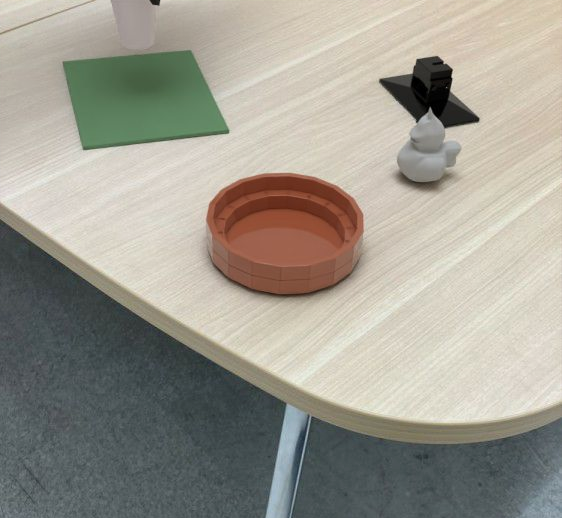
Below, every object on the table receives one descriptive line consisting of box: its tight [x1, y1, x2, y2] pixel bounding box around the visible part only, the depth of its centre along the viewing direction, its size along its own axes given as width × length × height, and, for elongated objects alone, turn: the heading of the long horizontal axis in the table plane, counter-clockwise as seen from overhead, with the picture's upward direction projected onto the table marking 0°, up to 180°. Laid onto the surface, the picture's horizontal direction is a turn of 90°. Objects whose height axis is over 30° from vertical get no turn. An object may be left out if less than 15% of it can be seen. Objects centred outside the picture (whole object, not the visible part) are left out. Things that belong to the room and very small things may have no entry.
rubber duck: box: [396, 107, 462, 183], centre depth 80 cm, size 5×7×8 cm
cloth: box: [62, 49, 230, 150], centre depth 92 cm, size 16×20×1 cm
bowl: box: [205, 172, 365, 295], centre depth 73 cm, size 14×14×4 cm
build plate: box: [378, 55, 481, 129], centre depth 93 cm, size 12×7×5 cm, turn 22°
